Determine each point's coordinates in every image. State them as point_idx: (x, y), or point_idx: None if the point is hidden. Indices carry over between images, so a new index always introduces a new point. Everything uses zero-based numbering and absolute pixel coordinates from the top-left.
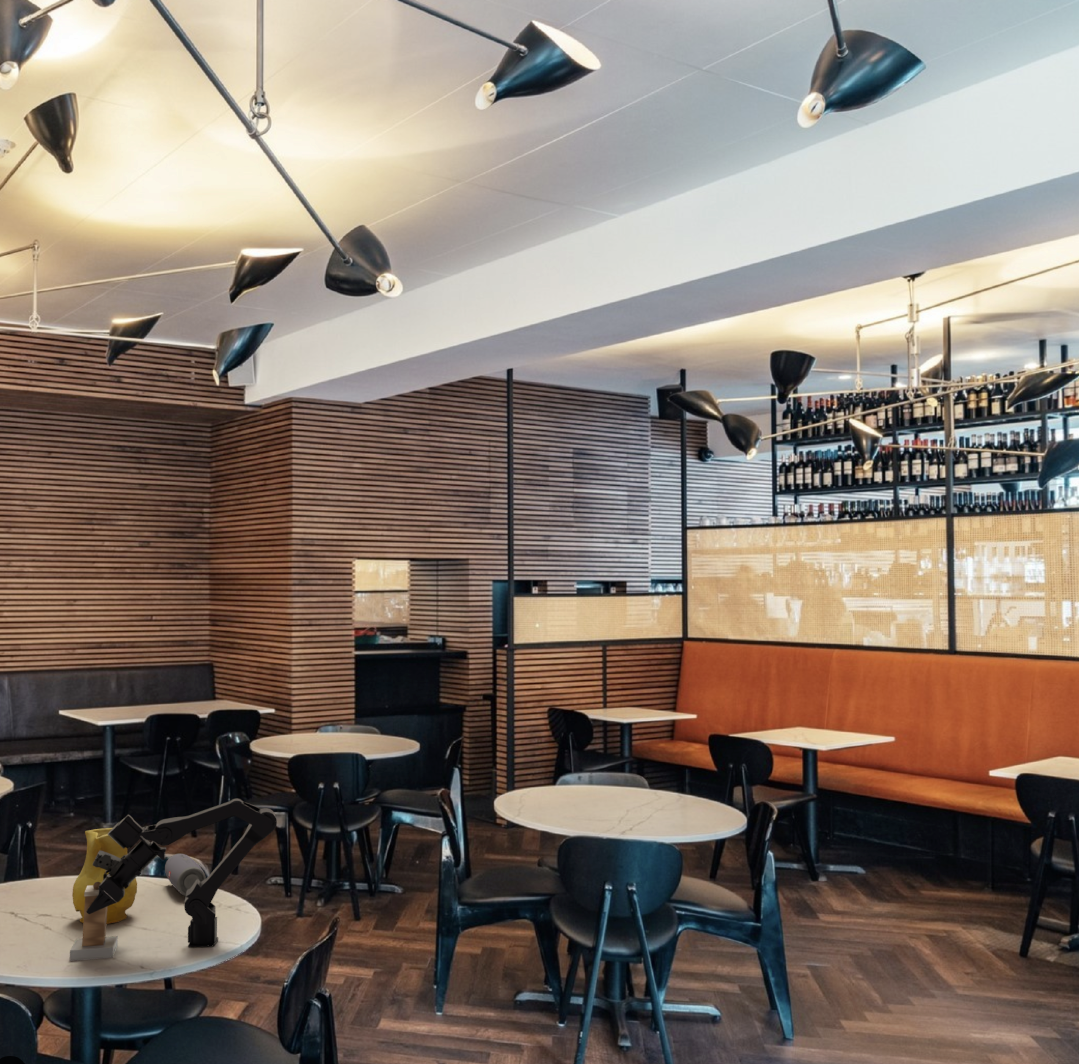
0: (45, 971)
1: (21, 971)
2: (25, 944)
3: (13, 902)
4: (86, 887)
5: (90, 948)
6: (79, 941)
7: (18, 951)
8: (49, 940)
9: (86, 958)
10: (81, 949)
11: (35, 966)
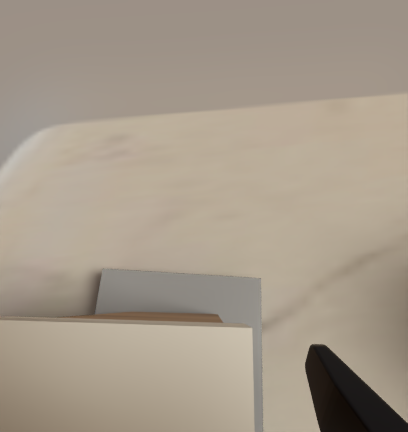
0: (27, 211)
1: (63, 149)
2: (332, 134)
3: None
4: (134, 325)
5: None
6: (218, 294)
7: (266, 124)
8: (365, 191)
9: None
10: (97, 313)
11: (96, 179)
